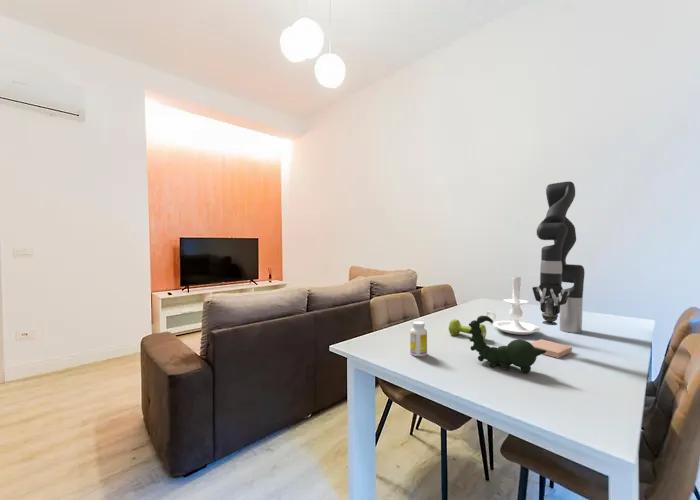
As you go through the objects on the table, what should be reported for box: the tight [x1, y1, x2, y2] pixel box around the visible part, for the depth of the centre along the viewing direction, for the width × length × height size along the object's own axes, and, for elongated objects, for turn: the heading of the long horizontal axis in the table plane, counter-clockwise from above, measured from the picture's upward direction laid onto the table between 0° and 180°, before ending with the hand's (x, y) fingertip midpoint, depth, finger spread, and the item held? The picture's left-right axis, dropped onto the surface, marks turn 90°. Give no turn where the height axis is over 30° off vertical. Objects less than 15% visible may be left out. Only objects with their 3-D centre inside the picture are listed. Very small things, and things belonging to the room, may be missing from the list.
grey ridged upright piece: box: [541, 296, 559, 326], centre depth 132 cm, size 6×6×12 cm
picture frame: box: [529, 338, 573, 359], centre depth 133 cm, size 2×12×12 cm
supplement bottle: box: [409, 320, 428, 358], centre depth 129 cm, size 7×7×13 cm
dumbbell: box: [448, 318, 487, 340], centre depth 152 cm, size 16×8×7 cm, turn 44°
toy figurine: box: [468, 315, 546, 374], centre depth 116 cm, size 9×19×25 cm
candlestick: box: [485, 275, 541, 336], centre depth 160 cm, size 21×25×28 cm
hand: (550, 313), depth 132 cm, fingers closed on grey ridged upright piece, 4 cm apart
